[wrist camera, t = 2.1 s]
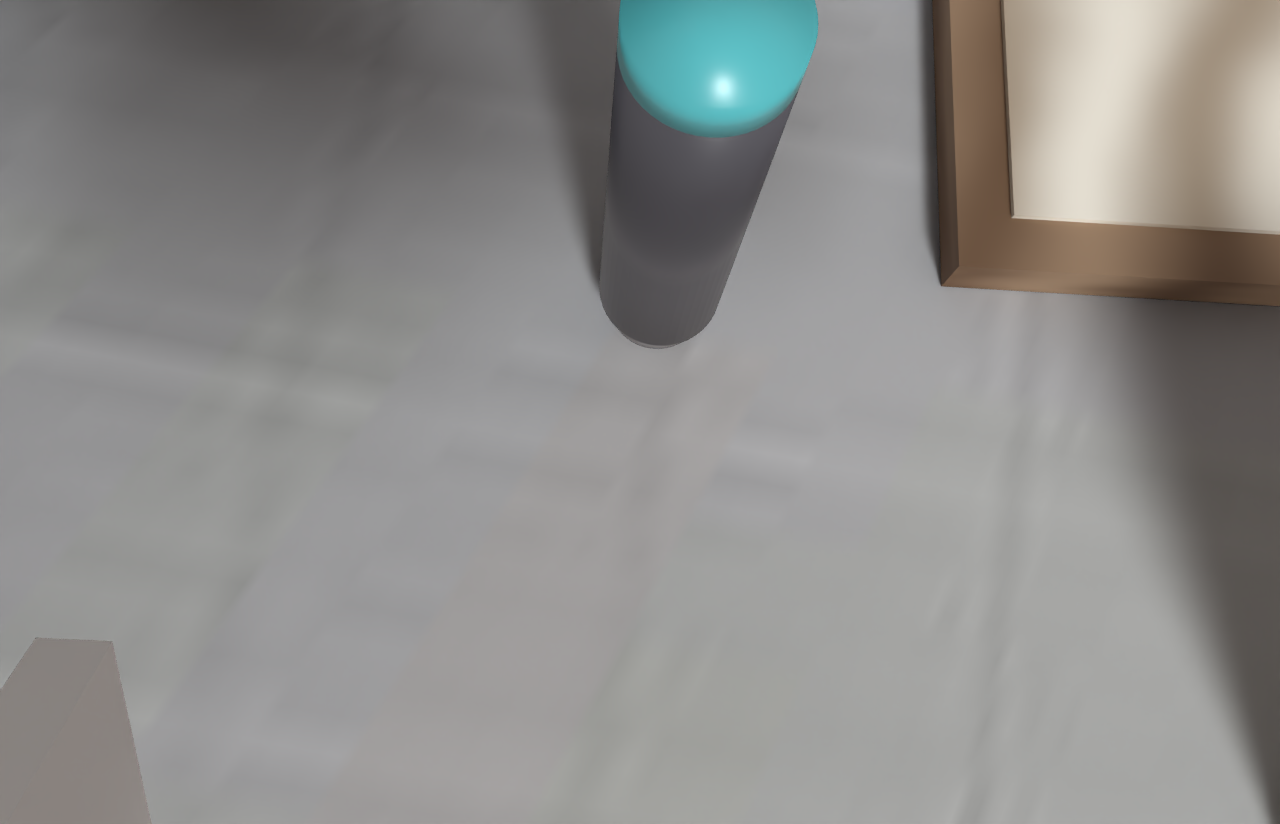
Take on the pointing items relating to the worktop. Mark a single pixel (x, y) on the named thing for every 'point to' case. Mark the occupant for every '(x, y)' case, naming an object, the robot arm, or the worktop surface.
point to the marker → (692, 151)
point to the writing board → (1110, 147)
